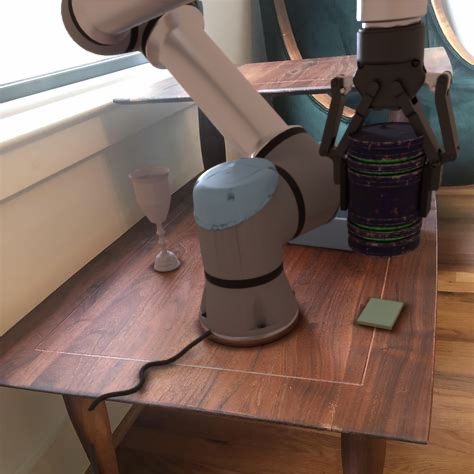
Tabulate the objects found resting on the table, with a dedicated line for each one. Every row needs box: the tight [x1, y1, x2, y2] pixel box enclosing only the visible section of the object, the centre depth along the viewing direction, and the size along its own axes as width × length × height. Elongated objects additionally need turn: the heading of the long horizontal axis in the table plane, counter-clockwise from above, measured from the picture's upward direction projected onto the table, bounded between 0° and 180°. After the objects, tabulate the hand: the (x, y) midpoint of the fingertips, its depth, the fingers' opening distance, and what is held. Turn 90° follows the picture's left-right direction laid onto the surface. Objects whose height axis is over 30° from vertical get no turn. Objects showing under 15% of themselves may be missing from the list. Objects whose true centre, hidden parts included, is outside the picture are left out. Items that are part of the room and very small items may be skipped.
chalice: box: [128, 165, 181, 272], centre depth 99 cm, size 7×7×18 cm
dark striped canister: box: [347, 121, 428, 259], centre depth 71 cm, size 10×10×15 cm
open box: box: [288, 209, 354, 252], centre depth 106 cm, size 14×19×6 cm
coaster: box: [356, 297, 404, 331], centre depth 81 cm, size 7×5×1 cm
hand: (384, 210), depth 73 cm, fingers closed on dark striped canister, 10 cm apart
